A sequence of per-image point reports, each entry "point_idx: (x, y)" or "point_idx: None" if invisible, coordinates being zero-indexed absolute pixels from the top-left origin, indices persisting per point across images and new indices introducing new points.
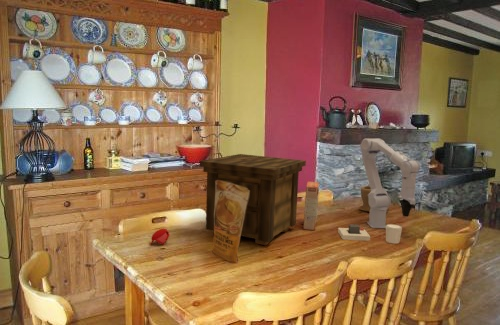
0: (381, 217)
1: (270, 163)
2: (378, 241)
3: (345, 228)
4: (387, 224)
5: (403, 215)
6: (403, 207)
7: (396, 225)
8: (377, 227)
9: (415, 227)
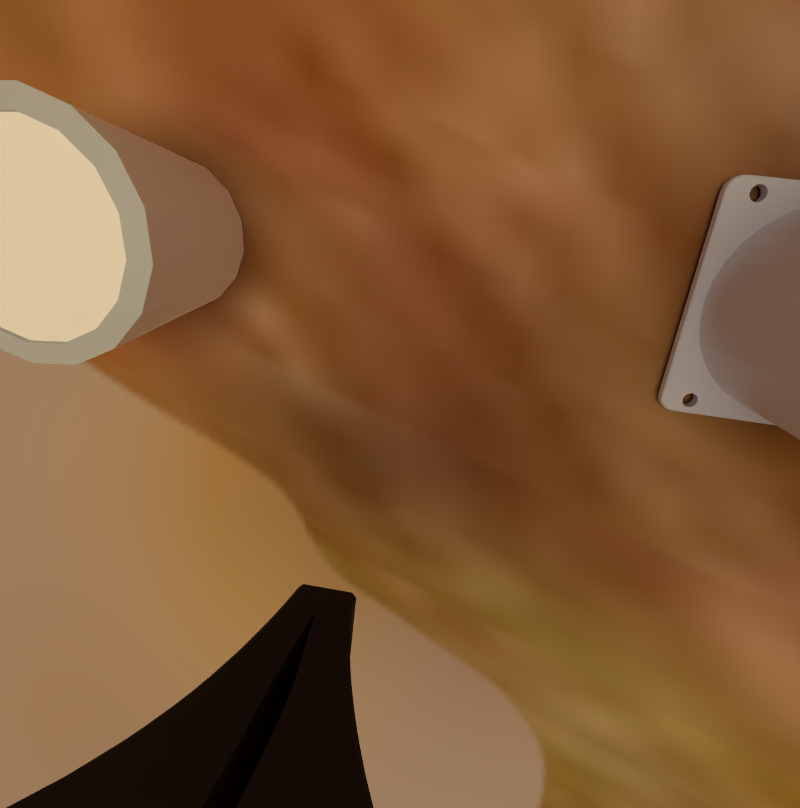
0: (786, 344)
1: None
2: (145, 36)
3: None
4: (113, 158)
5: (304, 590)
6: (157, 717)
7: (96, 310)
8: (700, 263)
9: (664, 711)
